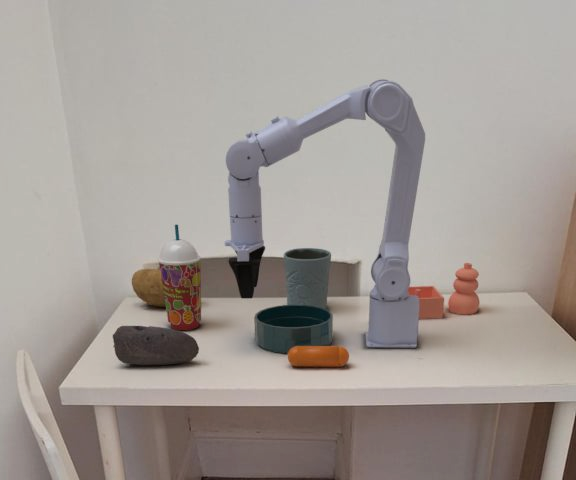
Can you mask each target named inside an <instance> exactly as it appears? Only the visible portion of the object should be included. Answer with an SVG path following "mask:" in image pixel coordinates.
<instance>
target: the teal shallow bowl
mask: <svg viewBox="0 0 576 480" xmlns="http://www.w3.org/2000/svg"><path fill="white" fill-rule="evenodd" d="M253 323H254V341H255V342H256V344H257V345H258V346H259V347H260V348H262V349H264V350H266V351H268V352H273V353H277V354H288V352H289V350H290V349H291V348H292V347H295V346H330V344H331V343H332V342H333V333H334V331H333V330H334V329H333V327H334V326H333V325H334V314H333V313H332V311H330V310H328V309H327V308H326V309H323V308H320V307H315V306H309V305H287V304H284V305H283V304H282V305H276V306H271V307H266V308H264V309H261V310H259V311H258V312H256V313H255V314H254V316H253Z"/></svg>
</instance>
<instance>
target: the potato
mask: <svg viewBox="0 0 576 480" xmlns="http://www.w3.org/2000/svg"><path fill="white" fill-rule="evenodd" d="M131 286H132V289H133V292H134V294H136V296H137V298H139V299H140V300H142V301H143V302H144V303H146V304H148V305H151V306H154V307H158V308H166V305H165V299H164V293H163V286H162V280H161V274H160V268H143V269H139V270H137V271H135V272H134V273H133V275H132V277H131Z"/></svg>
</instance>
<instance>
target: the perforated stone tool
mask: <svg viewBox="0 0 576 480" xmlns="http://www.w3.org/2000/svg"><path fill="white" fill-rule="evenodd" d="M112 339H113V346H112V348H114V354H115V356H116V358H117V359H118V360H119V361H120V362H122V363H123V364H127V365H135V366H164V365H179V364H184V363H187V362H188V363H189V362H190V361H193V360H194V359H195V358H196V357H197V356H198V354H199V351H200V346H199V345H198V342H197V340H196V339H195V338H194V337H193V336H192V335H190V334H188V333H186V332H184V331H182V330H176V329H173V328H168V327H161V326H152V325H149V326H144V325H121V326H119V327H117V329H116V330H115V331H114V333H113V334H112Z"/></svg>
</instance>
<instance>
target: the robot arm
mask: <svg viewBox="0 0 576 480" xmlns="http://www.w3.org/2000/svg"><path fill="white" fill-rule="evenodd" d="M366 115H367V116H368V118H370V119H371V120H372V121H374V122H375V123H376V124H378V125H379V126H380V127H381V128H383V129H384V131H385V132H386V133H387V135H388V137H390V139H391V140H392V141H393V142H394V155H393V162H392V168H391V176H390V181H389V190H388V196H387V203H386V210H385V216H384V223H383V231H382V238H381V241H380V244H379V247H378V252H377V253H378V254H377V256H376V257H375V259H374V261H373V262H372V264H371V268H370V275H371V279H372V280H373V283H374V286H373V288H372V289H371V290H370V292H369V307H368V308H369V309H368V328H367V331H366V332H365V333H364V336H365V344H366V347H367V348H405V349H406V348H407V349H408V348H409V349H410V348H411V349H412V348H414V349H415V348H417V347H418V344H417V343H418V335H419V320H420V319H419V297H418V296H413V295H409V292H408V289H409V287H411V275H410V273H409V261H410V260H409V257H410V256H409V255H410V254H409V253H410V251H409V242H410V237H411V231H412V225H413V224H412V223H413V217H414V212H415V205H416V200H417V193H418V186H419V181H420V175H421V174H420V173H421V168H422V162H423V155H424V151H425V144H426V131H425V130H424V127H423V124H422V122H421V120H420V117H419V114H418V112H417V110H416V106H415V104H414V101H413V98H412V96H410V94H409V93H408V92H407V91H406V89H404V88H403V86H401V85H400V84H399V83H397V81H393V80H388V79H384V78H383V79H382V78H381V79H377V80H374V81H372V82H371V83H369V85H368V84H365V85H361V86H359V87H355V88H353V89H351V90H348V91H346V92H344V93H342V94H340V95H338V96H336V97H335V98H333V99H331V100H330V101H327V102H326V103H324V104H322V105H321V106H319V107H317V108H315V109H313V110H312V111H310V112H308V113H306V114H305V115H303V116H300V117H299V118H298V119H293V118H291V117H288V116H283V117H281V118H279V116H278V115H277V116H274V117H272V118H271V119H270V122H271V123H269V124H268V125H266V126H264V127H262V128H260V129H258V130H256V131H255V132H252V130H249V131H248V132H246V133H245V136H246V139H244V138H242V139H238V140H236V141H234V142H233V143H232V144H231V145H230V146H229V147H228V150H227V152H226V154H225V166H226V168H227V170H228V172H229V173H228V176H227V182H228V185H229V186H228V189H227V193H228V207H229V208H228V210H229V211H228V213H229V227H230V229H229V230H230V239H226V240H225V241H224V246H225V247H230V248H232V250H233V251H234V252H235V254H236V257H229V258H228V264H229V266H230V268H231V270H232V272H233V275H234V278H235V280H236V284H237V288H238V292H239V296H240V298H241V299H253V297H254V294H255V288H257V287H258V282H259V274H260V267H261V261H262V258H263V256H264V253H265V251H266V245H265V242H264V239H263V238H264V237H263V214H262V212H263V209H262V187H261V185H260V171H259V170H260V168H261V167H264V168H268V167H270V166H272V165H274V164H276V163H278V162H280V161H282V160H283V159H286V158H288V157H290V156H291V155H295V154H296V153H298V152H300V150H301V147H302V145H303V141H304V140H305V139H307V138H309V137H311V136H313V135H316V134H317V133H319V132H322V131H324V130H325V129H328V128H331V127H332V126H335V125H336V124H339V123H340V122H342V121H344V120H358V121H359V120H360V121H366V120H367V117H366Z"/></svg>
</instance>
